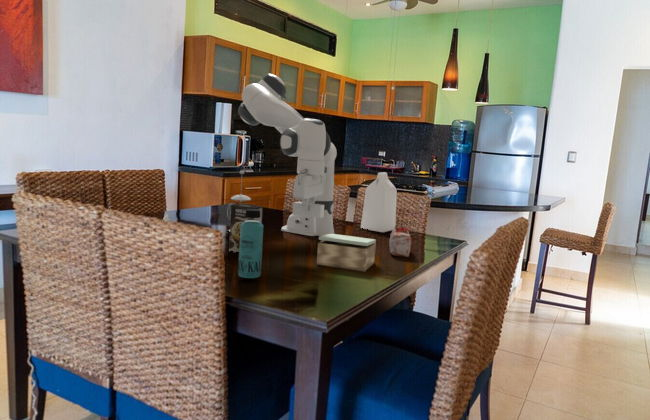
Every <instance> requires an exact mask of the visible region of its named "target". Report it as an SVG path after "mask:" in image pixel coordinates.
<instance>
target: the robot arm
mask: <svg viewBox="0 0 650 420" xmlns="http://www.w3.org/2000/svg"><path fill="white" fill-rule="evenodd" d="M285 85H286V84H285V83H284V81H283V80H282V79H281V78H280V76H277V75H275V74H272V73H267V74H265V75H264V76H263V77H262V78H261V79H260V81H258V82H257V83H256V82H255V83H250V84H247V85H246V86H245V87H244V88H243V90H242V92H241V99H242V102H241V103H240V105H239V107H238V109H237V111H238V115H239V117H240V119H242V121H243V122H244V123H246V124H248V125H250V126H257V125H258V126H259V125H260V124H262V125H263V126H267V127H274V128H275V129H276V130H277V131H278V132H279V133H280V137H279V146H280V150H281V151H282V153H283V154H284V155H285V156H288V157H297V162H296V163H297V166H296V174H297V175H296V176H295V178H294V184H293V193H292V194H293V195H292V196H293V199H295V200H300V202H302V205H303V211H305V212H307V211H309V205H308V203H312V204H321V205H324V217H322V218H316V217H308V216H301V215H293V214H292V213H291V214H290V215H289V216H288V219H287V221H286V225H284V226H282V227H281V229H280V231H281V232H286V233H293V234H297V235H298V234H299V235H301V236H302V235H303V236H308V237H309V236H310V237H315V236H316V237H317V236H318V237H319V236H323V235H327V234H335V230H334V224H333V213H334V207H335V206H334V205H335V204H334V203H335V202H334V200H333V199H334V189H335V188H334V186H335V160H336V158H337V155H338V154H337V153H338V152H337V148H336V146H335V144H334V143H333V142H332V141H331V140H332V139H331V138H330V135H329V134H328V132H327V131H326V125H325V123H324V121H322V120H320V119H316V118H313V117H311V118H310V117H303V116H302V114H300V113H299V112H298V111H297V110H296V109H295V108H293V106H291V105H289V103H286V102H285V101H284V100H282V98H283V99H285V100H286V99H287V97H286V94H287V87H286V86H285Z"/></svg>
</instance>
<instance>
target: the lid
mask: <svg viewBox="0 0 650 420" xmlns="http://www.w3.org/2000/svg"><path fill="white" fill-rule="evenodd" d="M318 240H320V241H323V240H326V241H333V242H341V243H348V244H355V245H363V246H368V245H371V244H373V243H376V242H377V241H376V239H375V238H368V237H367V238H366V237H361V236H353V235H345V234H338V233H337V234H336V233H334V234H327V235H318ZM376 244H377V243H376Z"/></svg>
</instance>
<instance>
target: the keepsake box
mask: <svg viewBox="0 0 650 420" xmlns="http://www.w3.org/2000/svg"><path fill="white" fill-rule="evenodd" d="M376 244H377V243H373V244H371V245H368V246H363V245H355V244H348V243H341V242H333V241H326V240H320V241H319V242H318V243H317V254H316V255H317V256H316V265H318V266H326V267H332V268H339V269H346V270H352V271H353V270H354V271H357V272H364V273H365V272H366V271H367V270H369V269H370V268H371V266H373V265H374V264H375V255H376Z"/></svg>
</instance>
